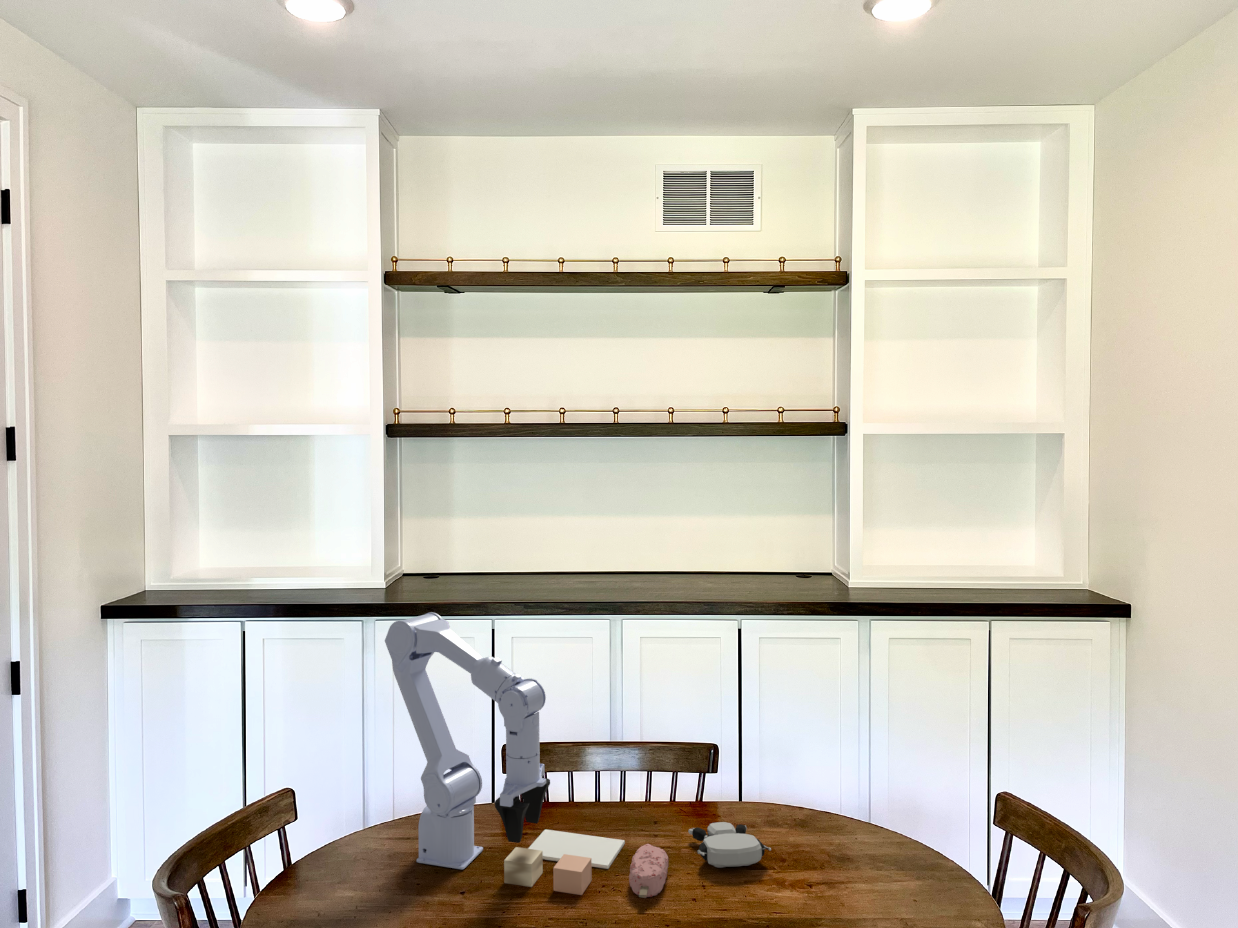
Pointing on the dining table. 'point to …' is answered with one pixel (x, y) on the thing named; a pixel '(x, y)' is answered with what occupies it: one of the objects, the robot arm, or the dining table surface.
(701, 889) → the dining table surface
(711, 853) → the robot toy
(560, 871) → the terracotta brick
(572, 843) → the mat
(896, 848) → the dining table surface
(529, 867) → the ash brick
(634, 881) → the ice cream bar
